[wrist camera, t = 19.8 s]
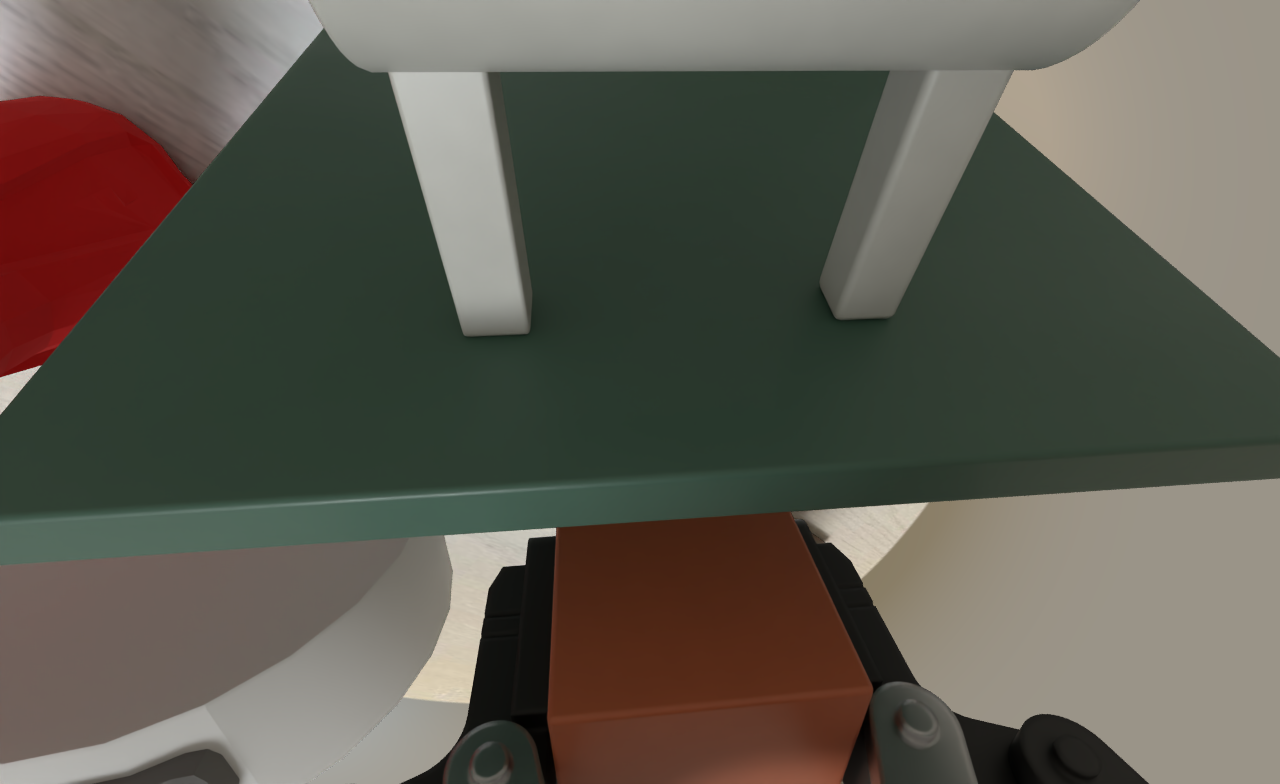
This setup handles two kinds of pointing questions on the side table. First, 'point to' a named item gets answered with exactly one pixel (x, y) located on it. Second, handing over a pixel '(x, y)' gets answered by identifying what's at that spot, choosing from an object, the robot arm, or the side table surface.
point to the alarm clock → (212, 660)
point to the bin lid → (628, 291)
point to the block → (699, 656)
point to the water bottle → (70, 215)
